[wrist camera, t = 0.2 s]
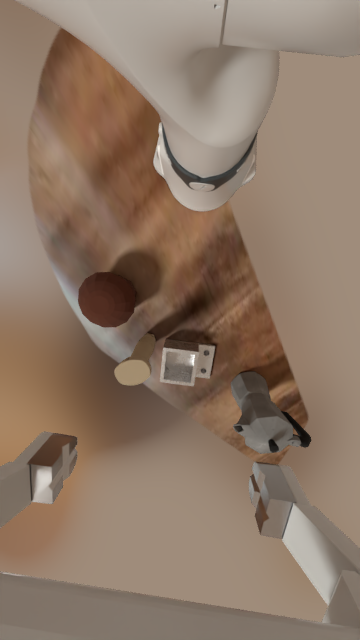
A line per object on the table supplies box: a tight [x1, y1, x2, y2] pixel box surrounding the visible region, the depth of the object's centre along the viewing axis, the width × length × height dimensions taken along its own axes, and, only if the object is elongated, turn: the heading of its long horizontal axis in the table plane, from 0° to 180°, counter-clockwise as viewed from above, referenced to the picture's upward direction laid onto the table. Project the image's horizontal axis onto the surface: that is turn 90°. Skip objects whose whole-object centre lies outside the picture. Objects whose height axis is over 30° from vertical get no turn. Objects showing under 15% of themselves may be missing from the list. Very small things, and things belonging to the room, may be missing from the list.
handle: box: [115, 333, 156, 385], centre depth 43 cm, size 5×6×15 cm
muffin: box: [78, 272, 136, 327], centre depth 42 cm, size 12×11×10 cm
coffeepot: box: [231, 372, 311, 454], centre depth 44 cm, size 15×9×18 cm, turn 78°
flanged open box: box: [160, 339, 215, 386], centre depth 49 cm, size 9×12×5 cm
